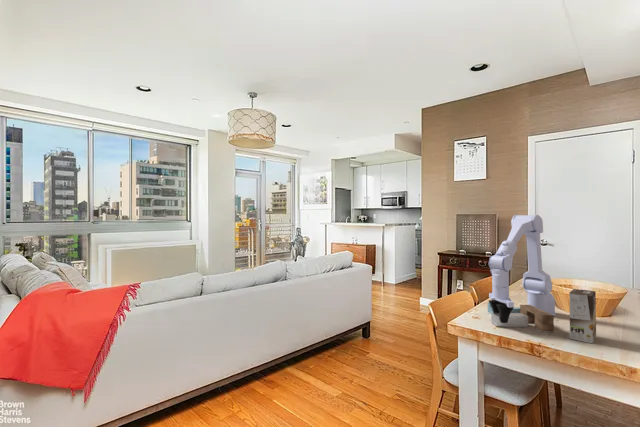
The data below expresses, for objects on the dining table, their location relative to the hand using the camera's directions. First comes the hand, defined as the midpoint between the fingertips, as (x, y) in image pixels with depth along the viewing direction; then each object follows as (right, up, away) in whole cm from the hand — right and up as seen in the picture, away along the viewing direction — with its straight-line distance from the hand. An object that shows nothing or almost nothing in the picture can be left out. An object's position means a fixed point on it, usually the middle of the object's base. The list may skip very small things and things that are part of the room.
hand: (501, 320), depth 126 cm
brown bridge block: (+13, -2, 0) cm, 14 cm away
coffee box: (+21, -2, -14) cm, 25 cm away
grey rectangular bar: (+3, 0, 0) cm, 3 cm away
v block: (+9, -2, +13) cm, 16 cm away
